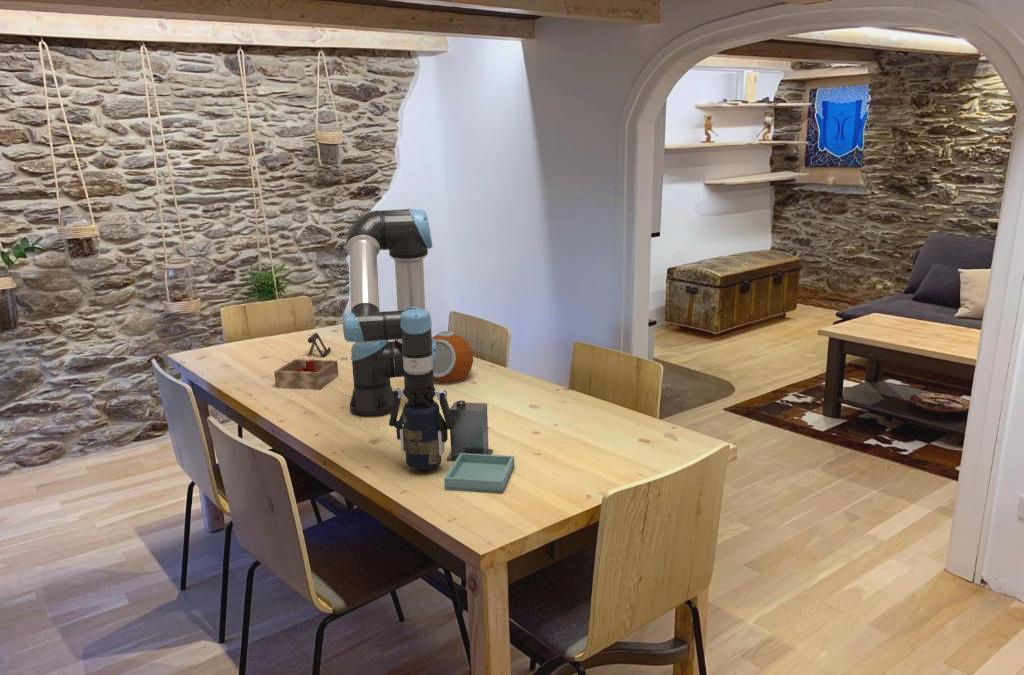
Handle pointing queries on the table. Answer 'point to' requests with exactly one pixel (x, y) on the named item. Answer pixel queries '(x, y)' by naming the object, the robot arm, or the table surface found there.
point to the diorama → (308, 367)
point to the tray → (480, 473)
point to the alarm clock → (451, 358)
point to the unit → (469, 429)
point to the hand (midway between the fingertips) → (423, 451)
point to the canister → (421, 436)
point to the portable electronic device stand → (313, 341)
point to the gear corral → (306, 374)
